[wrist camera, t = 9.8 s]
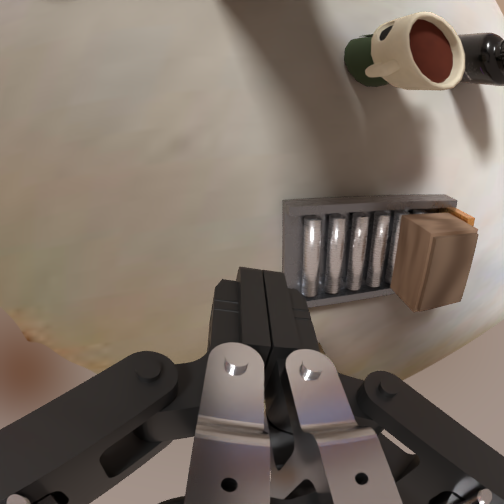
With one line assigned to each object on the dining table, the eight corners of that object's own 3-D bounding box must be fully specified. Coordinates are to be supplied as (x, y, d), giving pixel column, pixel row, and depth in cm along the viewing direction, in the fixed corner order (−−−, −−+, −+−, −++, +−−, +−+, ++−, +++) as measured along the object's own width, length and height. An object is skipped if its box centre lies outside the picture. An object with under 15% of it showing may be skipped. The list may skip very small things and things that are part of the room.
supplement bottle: (433, 71, 32) (501, 72, 21) (438, 28, 29) (503, 19, 18) (467, 90, 33) (532, 98, 22) (471, 49, 30) (534, 49, 20)
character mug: (384, 21, 28) (455, 0, 17) (410, 72, 31) (486, 70, 20) (313, 53, 30) (371, 29, 18) (344, 107, 33) (412, 112, 21)
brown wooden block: (390, 287, 40) (416, 315, 34) (401, 214, 36) (434, 235, 30) (434, 279, 41) (461, 303, 35) (448, 212, 37) (481, 231, 31)
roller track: (281, 298, 42) (296, 331, 35) (282, 200, 36) (300, 220, 30) (429, 275, 45) (456, 298, 38) (444, 194, 39) (477, 210, 33)
